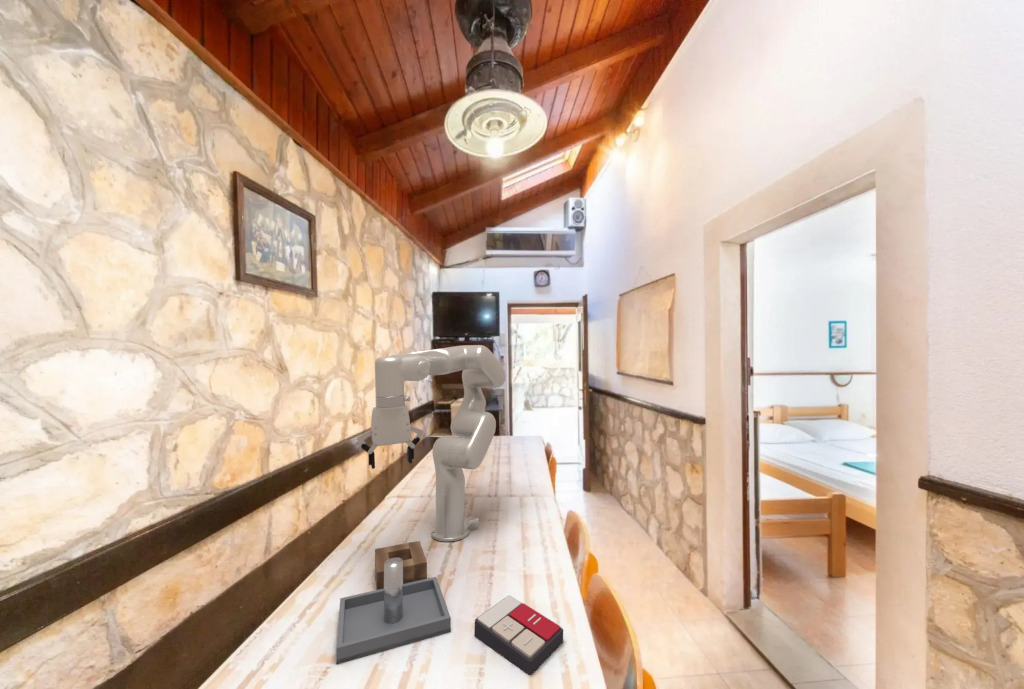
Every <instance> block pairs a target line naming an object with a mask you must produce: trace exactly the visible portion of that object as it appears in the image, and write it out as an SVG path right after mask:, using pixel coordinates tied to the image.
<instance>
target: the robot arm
mask: <svg viewBox="0 0 1024 689" xmlns="http://www.w3.org/2000/svg"><path fill="white" fill-rule="evenodd" d="M460 371H462V373H461V380H462V384H463V386H462V387H463V393H464V394H463V398H462V400H461V403H460V404H459V407H458V409H457V411H456V412H455V414H454V416H453V418H452V421H451V422H450V423H451V424H450V431H451V433H452V434H453V435H444V436H440V437H438V438H437V439H436V440H435V442H434V443H433V446H432V458H433V459H432V460H433V464H434V469H435V525H434V526H433V527H432V528H431V529H430V535H431V538H433V539H434V540H437V541H439V542H445V543H446V542H456V541H460V540H462V539H464V538H466V537H467V536H468V535H469V534H470V533H471V532H470V530H471V528H470V527H471V526H472V525H474V526H476V525H479V524H480V518H479V517H474V516H471V515H470V516H468V517H467V516H466V478H465V474H464V471H463V469H465V470H476V469H478V468H479V467H480V466H481V465H482V463H483V461H484V459H485V458H486V454H487V452H488V451H489V450H488V449H489V448H490V445H491V443H492V441H493V439H494V436H495V433H496V428H497V421H496V418H495V416H494V415H493V413H491V412H489V411H485V409H486V405H487V402H486V397H485V395H484V394H483V390H482V388H485V389H486V388H487V389H488V388H489V389H490V388H491V389H497V388H501V387H502V386H503V385H504V384H505V382H506V376H507V375H506V371H505V369H504V367H503V365H502V363H500V361H499V359H498V358H497V357H496V356H495V354H494V353H493V352H492V351H491V350H490V349H489V348H488V347H487V346H485V345H481V344H477V345H476V344H473V345H472V344H471V345H470V344H468V345H467V344H466V345H456V346H449V347H442V348H436V349H435V348H434V349H427V350H422V351H421V350H420V351H413V352H405V353H404V352H403V353H399V354H391V355H389V356H382V357H381V356H380V357H378V358H376V359H375V361H374V381H375V383H374V384H375V385H374V387H375V407H372V411H371V417H370V418H371V420H370V429H369V430H367V431H365V432H364V433H363V434H360V435H359V436H357V437H356V441H357V442H358V444H359V446H360V447H361V449H362V450H363V451H365V452H366V453H368V466H370V467H371V469H373V470H374V469H375V468H376V457H375V450H376V449H377V448H378V447H380V446H382V447H383V446H391V445H398V444H405V443H406V444H407V445H408V446H407V449H406V450H407V462H408V463H409V464H413V460H414V459H415V448H416V446H417V445H418V444H419V442H420V441H421V438H422V437H423V435H424V430H423V429H420V428H418V427H415V426H413V425H411V420H410V414H409V408H408V405H407V404H406V403H407V402H411V396H407V395H405V382H420V381H423V380H424V379H426V378H427V377H428V376H441V375H442V376H443V375H448V374H451V373H455V372H460ZM412 432H413V433H416V435H415V437H414V438H413V440H411V439H412V438H411V437H412V436H411V435H412ZM367 438H370V440H371V443H370V444H369V445H368V444H367V443H366V442H365V440H366V439H367Z"/></svg>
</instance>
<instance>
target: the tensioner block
mask: <svg viewBox="0 0 1024 689" xmlns="http://www.w3.org/2000/svg"><path fill="white" fill-rule="evenodd" d="M391 558H401V559H402V560H403V584H406V583H410V582H415V581H419V580H424V579H428V565H427V564H428V561H427V559H426V555H425V552H424V550H423V546H422V543H421V541H420V540H417V541H416V540H415V541H412V542H405V543H400V544H396V545H390V546H385V547H379V548H374V576H375V578H374V579H375V581H374V582H375V590H379V589H384V563H385V561H386V560H388V559H391Z"/></svg>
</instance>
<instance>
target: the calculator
mask: <svg viewBox="0 0 1024 689" xmlns="http://www.w3.org/2000/svg"><path fill="white" fill-rule="evenodd" d="M473 633H474V638H476V639H477V640H479V641H480V642H481V643H483V644H484V645H486V646H487V647H490V648H491V649H493V651H495V652H496V653H497V654H499V656H502V657H503V658H504V659H506V660H507V661H508V662H509V663H511V664H512V665H514V666H515V667H516V668H518V669H519V670H520V671H522V672H524V673H525V674H526V675H527V676H532V675H533V674H534V673H535V672H536V670H538V669H539V668H540V667H541V666H542V664H544V663H545V662H546V661H547V660H548V659H549V657H550V656H551V655H552V654H553V653H554V652H555V651H556V650H557V649H558V648H559V647H560V646H561V645H562V644H563V642H564V628H562V627H561V626H560V625H559V624H558V623H556V622H555V621H553V620H551V619H550V618H547V617H546V616H544V615H543V614H541V612H539V611H537V610H535V609H534V608H532V607H531V606H529V605H527V604H526V603H523V602H521V601H519V600H518V599H516V598H515V597H514V596H512V595H507V596H506V597H504V598H503V599H501V600H500V601H499V602H497V603H496V604H495V605H493V606H492V607H490V608H489V609H487V610H486V611H485V612H483V613H481V614H480V616H478V617H476V618H475V619H474V632H473Z"/></svg>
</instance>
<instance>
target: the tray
mask: <svg viewBox="0 0 1024 689" xmlns="http://www.w3.org/2000/svg"><path fill="white" fill-rule="evenodd" d="M451 622H452V620H451V615H450V611H449V609H448V606H447V603H446V600H445V598H444V595H443V592H442V589H441V587H440V584H439V581H438V577H437V576H434V577H429V578H428V577H427V579H424V580H419V581H415V582H410V583H406V584H403V617H402V619H401V620H400V621H398V622H397V623H393V624H388V623H385V622H384V589H379V590H376V589H374V590H371V591H367V592H366V591H365V592H363V593H362V592H361V593H358V594H353V595H349V596H344V597H340V598H339V609H338V625H337V639H336V665H339V664H343V663H345V662H346V663H347V662H350V661H354V660H356V659H360V658H364V657H367V656H370V655H375V654H377V653H381V652H385V651H388V650H391V649H395V648H396V649H397V648H399V647H403V646H405V645H409V644H413V643H416V642H420V641H423V640H427V639H430V638H434V637H437V636H441V635H445V634H448V633H451V631H452V630H451V629H452V628H451V627H452V626H451V624H452V623H451Z"/></svg>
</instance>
